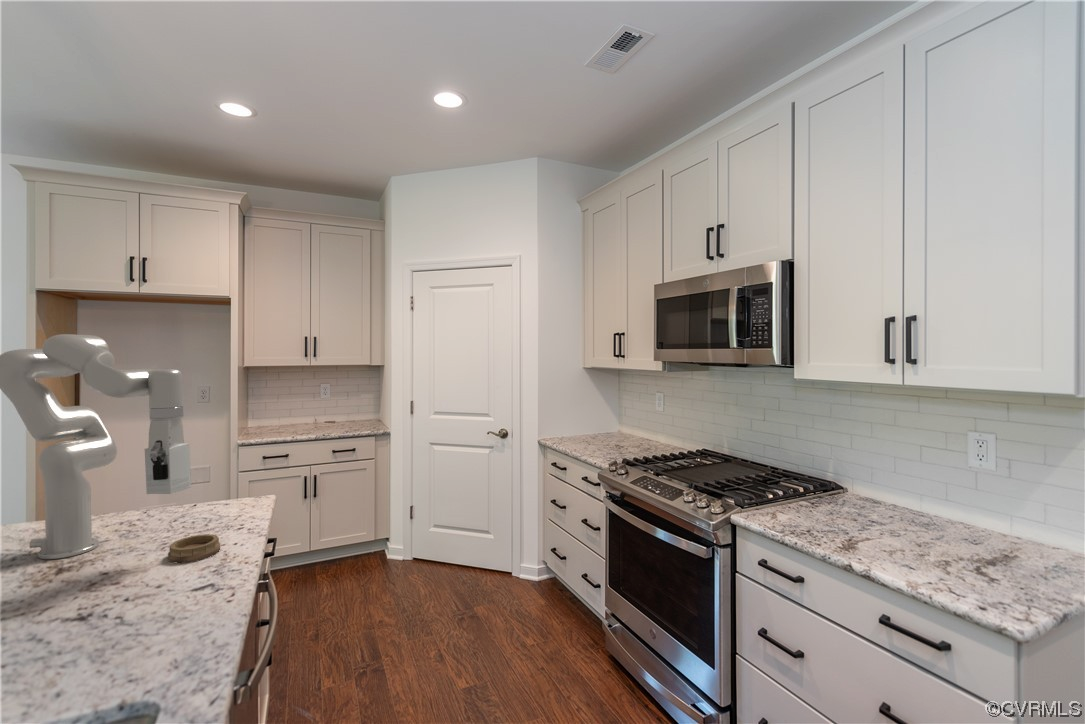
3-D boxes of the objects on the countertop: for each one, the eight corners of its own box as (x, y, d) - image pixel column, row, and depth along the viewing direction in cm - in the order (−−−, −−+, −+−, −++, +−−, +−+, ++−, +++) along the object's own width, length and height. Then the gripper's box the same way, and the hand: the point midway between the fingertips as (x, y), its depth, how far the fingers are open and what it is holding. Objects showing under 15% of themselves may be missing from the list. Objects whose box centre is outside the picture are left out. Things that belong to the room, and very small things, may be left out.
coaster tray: (159, 565, 131) (159, 552, 131) (179, 548, 142) (179, 536, 142) (211, 560, 134) (211, 547, 134) (226, 543, 146) (226, 532, 146)
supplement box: (192, 487, 140) (190, 443, 139) (170, 494, 132) (168, 448, 132) (168, 486, 140) (167, 443, 140) (145, 494, 133) (143, 448, 133)
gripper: (165, 411, 143) (168, 469, 144) (133, 418, 127) (136, 484, 127) (195, 409, 145) (197, 467, 146) (167, 416, 128) (170, 481, 129)
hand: (169, 475), depth 136 cm, fingers closed on supplement box, 9 cm apart
